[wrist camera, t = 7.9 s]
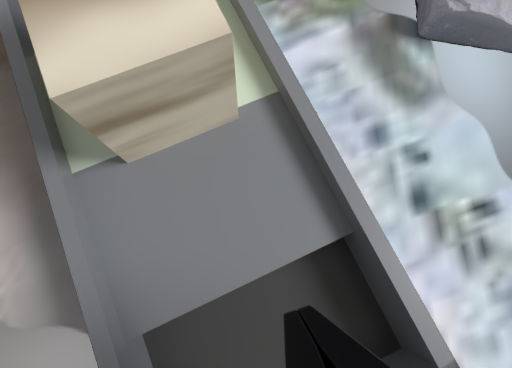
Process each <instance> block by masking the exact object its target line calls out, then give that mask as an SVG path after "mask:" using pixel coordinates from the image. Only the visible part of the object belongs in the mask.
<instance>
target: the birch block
mask: <svg viewBox="0 0 512 368" xmlns="http://www.w3.org/2000/svg"><path fill="white" fill-rule="evenodd" d="M18 1H19V4H20V7H21V10H22V13H23V16H24V20H25V23H26V26H27V29H28V32H29V35H30V38H31V42H32V45H33V48H34V51H35V54H36V57H37V60H38V64H39V67H40V70H41V73H42V76H43V79H44V82H45V86H46V89H47V92H48V95H49V98H50V99H51V100H52V101H53V102H54V103H56V104H57V105H58V106H59V107H60V108H62V109H63V110H64V111H65V112H66V113H68V114H69V115H70V116H71V117H72V118H74V119H75V120H76V121H77V122H79V123H80V124H81V125H82V126H83V127H85V128H86V129H87V130H88V131H89V132H91V133H92V134H93V135H94V136H95V137H97V138H98V139H99V140H100V141H102V142H103V143H104V144H105V145H106V146H108V147H109V148H110V149H111V150H112V151H114V152H115V153H116V154H117V155H118V156H120V157H121V158H122V159H123V160H124V161H126V162H127V163H130V162H133V161H135V160H138V159H140V158H143V157H145V156H148V155H150V154H153V153H155V152H158V151H160V150H163V149H165V148H167V147H170V146H172V145H175V144H177V143H180V142H182V141H185V140H187V139H190V138H192V137H195V136H197V135H200V134H202V133H205V132H207V131H210V130H212V129H214V128H217V127H219V126H222V125H224V124H227V123H229V122H232V121H234V120H237V119H239V116H238V102H237V89H236V76H235V62H234V49H233V36H232V31H231V29H230V27H229V25H228V23H227V21H226V19H225V17H224V16H223V14H222V12H221V10H220V8H219V6H218V4H217V2H216V0H18Z"/></svg>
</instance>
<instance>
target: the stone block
mask: <svg viewBox="0 0 512 368" xmlns="http://www.w3.org/2000/svg"><path fill="white" fill-rule="evenodd" d="M415 5H416V19H417V22H418V34H419V36H420V37H422V38H425V39H429V40H432V41H437V42H444V43H449V44H455V45H461V46H471V47H475V48H481V49H489V50H500V51H504V52H508V53H512V0H415Z"/></svg>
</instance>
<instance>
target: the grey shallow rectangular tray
mask: <svg viewBox="0 0 512 368" xmlns="http://www.w3.org/2000/svg"><path fill="white" fill-rule="evenodd" d="M216 2H217V4H218V6H219V8H220V10H221V12H222V14H223V16H224V17H225V19H226V21H227V23H228V25H229V27H230V29H231V31H232V36H233V49H234V62H235V76H236V89H237V102H238V116H239V119H237V120H234V121H232V122H229V123H227V124H224V125H222V126H219V127H217V128H214V129H212V130H210V131H207V132H205V133H202V134H200V135H197V136H195V137H192V138H190V139H187V140H185V141H182V142H180V143H177V144H175V145H172V146H170V147H167V148H165V149H163V150H160V151H158V152H155V153H153V154H150V155H148V156H145V157H143V158H140V159H138V160H135V161H133V162H130V163H127V162H126V161H124V160H123V159H122V158H121V157H120V156H118V155H117V154H116V153H115V152H114V151H112V150H111V149H110V148H109V147H108V146H106V145H105V144H104V143H103V142H102V141H100V140H99V139H98V138H97V137H95V136H94V135H93V134H92V133H91V132H89V131H88V130H87V129H86V128H85V127H83V126H82V125H81V124H80V123H79V122H77V121H76V120H75V119H74V118H72V117H71V116H70V115H69V114H68V113H66V112H65V111H64V110H63V109H62V108H60V107H59V106H58V105H57V104H56V103H54V102H53V101H52V100H51V99H50V98H49V95H48V92H47V89H46V86H45V82H44V79H43V76H42V73H41V70H40V67H39V64H38V60H37V57H36V54H35V51H34V48H33V45H32V42H31V38H30V35H29V32H28V29H27V26H26V23H25V20H24V16H23V13H22V10H21V7H20V4H19V1H18V0H0V33H1V36H2V39H3V43H4V46H5V50H6V53H7V56H8V60H9V63H10V67H11V70H12V74H13V77H14V80H15V84H16V87H17V91H18V94H19V98H20V101H21V104H22V108H23V111H24V115H25V118H26V122H27V125H28V128H29V132H30V135H31V139H32V142H33V146H34V149H35V152H36V156H37V159H38V163H39V166H40V170H41V173H42V176H43V180H44V183H45V187H46V190H47V194H48V197H49V200H50V204H51V207H52V211H53V214H54V218H55V221H56V224H57V228H58V231H59V235H60V238H61V242H62V245H63V248H64V252H65V255H66V259H67V262H68V266H69V269H70V272H71V276H72V279H73V283H74V286H75V290H76V293H77V296H78V300H79V303H80V307H81V310H82V314H83V317H84V320H85V324H86V327H87V331H88V334H89V338H90V341H91V344H92V348H93V351H94V355H95V358H96V362H97V365H98V368H286V366H285V345H284V323H283V314H284V313H286V312H289V311H292V310H297V309H298V308H300V307H303V306H306V305H311V306H312V307H314V308H315V309H316V310H318V311H319V312H320V313H321V314H323V315H324V316H325V317H327V318H328V319H329V320H331V321H332V322H333V323H334V324H336V325H337V326H338V327H340V328H341V329H342V330H343V331H345V332H346V333H347V334H349V335H350V336H351V337H353V338H354V339H355V340H356V341H358V342H359V343H360V344H362V345H363V346H364V347H365V348H367V349H368V350H369V351H371V352H372V353H373V354H375V355H376V356H377V357H378V358H380V359H381V360H382V361H384V362H385V363H386V364H387V365H389V366H390V367H391V368H460V367H459V366H458V364H457V362H456V360H455V359H454V357H453V355H452V353H451V351H450V350H449V348H448V346H447V344H446V343H445V341H444V339H443V337H442V335H441V334H440V332H439V330H438V328H437V327H436V325H435V323H434V321H433V319H432V318H431V316H430V314H429V312H428V311H427V309H426V307H425V305H424V303H423V302H422V300H421V298H420V296H419V295H418V293H417V291H416V289H415V287H414V286H413V284H412V282H411V280H410V279H409V277H408V275H407V273H406V271H405V270H404V268H403V266H402V264H401V263H400V261H399V259H398V257H397V255H396V254H395V252H394V250H393V248H392V247H391V245H390V243H389V241H388V239H387V238H386V236H385V234H384V232H383V231H382V229H381V227H380V225H379V223H378V222H377V220H376V218H375V216H374V215H373V213H372V211H371V209H370V207H369V206H368V204H367V202H366V200H365V199H364V197H363V195H362V193H361V191H360V190H359V188H358V186H357V184H356V183H355V181H354V179H353V177H352V175H351V174H350V172H349V170H348V168H347V167H346V165H345V163H344V161H343V159H342V158H341V156H340V154H339V152H338V151H337V149H336V147H335V145H334V143H333V142H332V140H331V138H330V136H329V135H328V133H327V131H326V129H325V127H324V126H323V124H322V122H321V120H320V119H319V117H318V115H317V113H316V111H315V110H314V108H313V106H312V104H311V103H310V101H309V99H308V97H307V95H306V94H305V92H304V90H303V88H302V87H301V85H300V83H299V81H298V79H297V78H296V76H295V74H294V72H293V71H292V69H291V67H290V65H289V63H288V62H287V60H286V58H285V56H284V55H283V53H282V51H281V49H280V47H279V46H278V44H277V42H276V40H275V39H274V37H273V35H272V33H271V31H270V30H269V28H268V26H267V24H266V23H265V21H264V19H263V17H262V15H261V14H260V12H259V10H258V8H257V7H256V5H255V3H254V1H253V0H216Z"/></svg>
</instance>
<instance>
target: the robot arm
mask: <svg viewBox="0 0 512 368" xmlns="http://www.w3.org/2000/svg"><path fill="white" fill-rule="evenodd" d="M283 323H284V345H285V366H286V368H391V367H390V366H389V365H387V364H386V363H385V362H384V361H382V360H381V359H380V358H378V357H377V356H376V355H375V354H373V353H372V352H371V351H369V350H368V349H367V348H365V347H364V346H363V345H362V344H360V343H359V342H358V341H356V340H355V339H354V338H353V337H351V336H350V335H349V334H347V333H346V332H345V331H343V330H342V329H341V328H340V327H338V326H337V325H336V324H334V323H333V322H332V321H331V320H329V319H328V318H327V317H325V316H324V315H323V314H321V313H320V312H319V311H318V310H316V309H315V308H314V307H312V306H311V305H306V306H303V307H300V308H298V309H297V310H292V311H289V312H286V313H284V314H283Z"/></svg>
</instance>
